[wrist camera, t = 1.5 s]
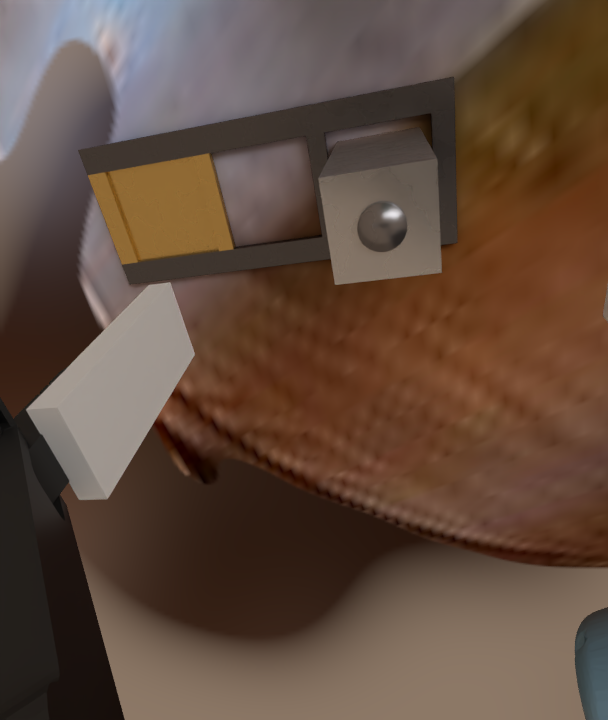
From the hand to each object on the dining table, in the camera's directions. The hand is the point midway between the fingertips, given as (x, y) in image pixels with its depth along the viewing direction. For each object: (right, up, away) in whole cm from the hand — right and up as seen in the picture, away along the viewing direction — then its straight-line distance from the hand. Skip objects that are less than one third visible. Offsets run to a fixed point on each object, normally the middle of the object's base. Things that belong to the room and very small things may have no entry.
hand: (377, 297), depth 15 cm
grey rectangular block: (+3, +10, +16) cm, 19 cm away
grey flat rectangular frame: (-5, +9, +18) cm, 20 cm away
